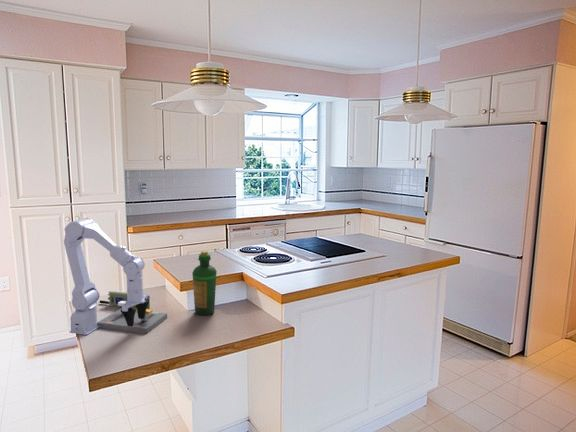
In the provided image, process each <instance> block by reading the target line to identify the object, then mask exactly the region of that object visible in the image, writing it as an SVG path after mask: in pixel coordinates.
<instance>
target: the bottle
mask: <svg viewBox="0 0 576 432" xmlns="http://www.w3.org/2000/svg"><path fill="white" fill-rule="evenodd" d="M197 260H198V262H199V265H197V266H196V267H195V268H194V269H193V271H192V288H193V303H194V312H195V314H197V315H199V316H208V315H213V313H215V308H216V307H215V306H216V304H215V303H216V287H217V273H218V272H217V270H216V268H215V267H214V266H212V265H210V261H211V260H212V259H211V254H210V253H209V251H208V250H201V251H200V253H199V254H198V259H197Z"/></svg>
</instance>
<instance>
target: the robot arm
mask: <svg viewBox="0 0 576 432" xmlns="http://www.w3.org/2000/svg"><path fill="white" fill-rule="evenodd" d="M64 233H65V234H64V240H63V244H64V249H65V253H66V257H67V259H68V265H69V268H70V271H71V272H70V273H71V275H72V279H73V283H74V286H73V289H72V291H71V295H72V298H71V305H72V307H73V308H74V309H75V311H73V313H71V316H70V321H69V322H70V330H69V331H68V332H69V333H70V334H75V335H76V334H78V335H85V336H87V335H89V334H90V333H92V332H94V331H95V330H97V329H98V328H100V326H97V322H98V311H97V310H98V309H97V308H98V307H97V304H98V303H97V302H98V301H99V299H100V291H99V290H98V289H97V288H96V285H95V283H93V281H91V279H90V277H89V271H88V267H87V263H86V260H85V256H84V251H83V248H82V242H83V241H84V240H85V239H90V240H94V241H95V242H97V243H98V244H99V245H100V246H102V247H103V248H105V249H106V250H107V251H108V252H109V256H110V257H111V258H112V259H113V260H114V261H115V262H116V263H118V265H120V266H121V267H122V268H123V269H122V271H123V272H124V273H125V276H126V293H127V301H126V302H125V304H124V305H123V306H122V307H121V308H122V309H121V308H120V309H121V313H122V314H123V316H124V317H125V320H126V323H127V326H131V327H132V326H133V325H134V316H135V312H136V310H137V312H138V318H139V319H144V316H145V312H146V308H147V306H148V304H149V300H146V299H148V293H144V290H143V289H144V286H143V283H144V282H143V270H144V268H145V265H146V263H145V262H144V260H143V258H142V257H140V256H135V254H132V253H131V252H130V251H129V250H127V247H126V246H125V245H124V246H123V245H122V244H116V243H115V242H114V241H113V240H112V239H111V238H110V237H109V236H108V235H107V234H106V233H105V232H104V231H103V230H102V229H101V228H100V226H99V224H98V223H96V222H95V221H94V220H93V219H92V218H88V217H86V218H82V219H78V220H73V221H71V222H68V224H67V225H66V226H65V227H64ZM135 305H136V307H137V309H132V307H133V306H135Z"/></svg>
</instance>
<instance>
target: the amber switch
mask: <svg viewBox="0 0 576 432" xmlns="http://www.w3.org/2000/svg"><path fill="white" fill-rule="evenodd" d="M135 310H136V313H138V312H137V309H135ZM152 312H154V309H146V312H145V316H144V319H141V320H142V321H147V320H148V319H149V318H148V315H150V314H151V313H152Z"/></svg>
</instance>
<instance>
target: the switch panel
mask: <svg viewBox="0 0 576 432" xmlns="http://www.w3.org/2000/svg"><path fill="white" fill-rule="evenodd" d="M121 309H122V307H120V308H118V309H117V310H116V311H114V312H112V313H110V314H109V315H107V316H105V317H104V318H103V319H100V321H97V326H100V327H99V328H100V329H108V330H117V331H125V332H133V333H138V334H148V333H149V332H151V331H152V330H153V329H155V328H156V327H157V326H159V325H160V324H161V323H162V322H164V321H165V320H167V319H168V313H166V312H159V311H158V312H157V311H153V312H152V313H151V314H150V315H148V318H149V319H148V320H147V321H142V320H141V319H139V318H138V313H136V312H135V316H134V325H133V326H132V327H131V326H127V323H126V320H125V317H124V316H123V314H122V313H121Z"/></svg>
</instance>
